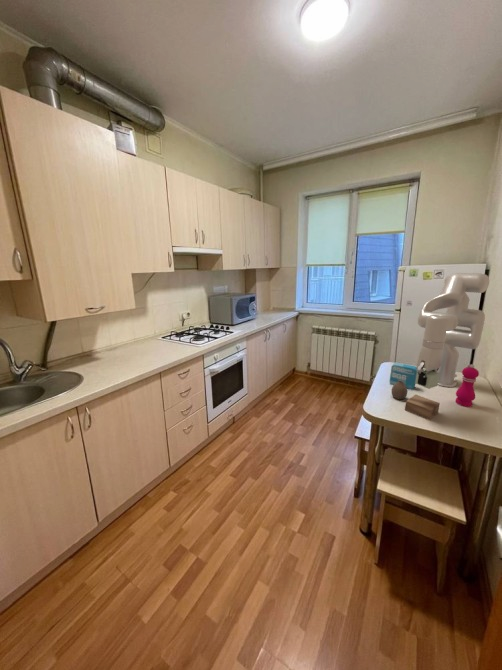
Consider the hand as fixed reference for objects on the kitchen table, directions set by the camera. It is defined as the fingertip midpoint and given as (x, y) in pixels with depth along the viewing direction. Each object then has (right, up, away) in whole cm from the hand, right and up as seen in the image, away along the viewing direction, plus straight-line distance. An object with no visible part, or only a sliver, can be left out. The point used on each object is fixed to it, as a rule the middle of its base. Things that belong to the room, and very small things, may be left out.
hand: (426, 382), depth 116 cm
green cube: (0, -1, 0) cm, 1 cm away
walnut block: (0, -14, +4) cm, 14 cm away
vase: (-3, -11, +16) cm, 20 cm away
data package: (+6, -7, +29) cm, 31 cm away
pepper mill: (+25, -12, +10) cm, 29 cm away
